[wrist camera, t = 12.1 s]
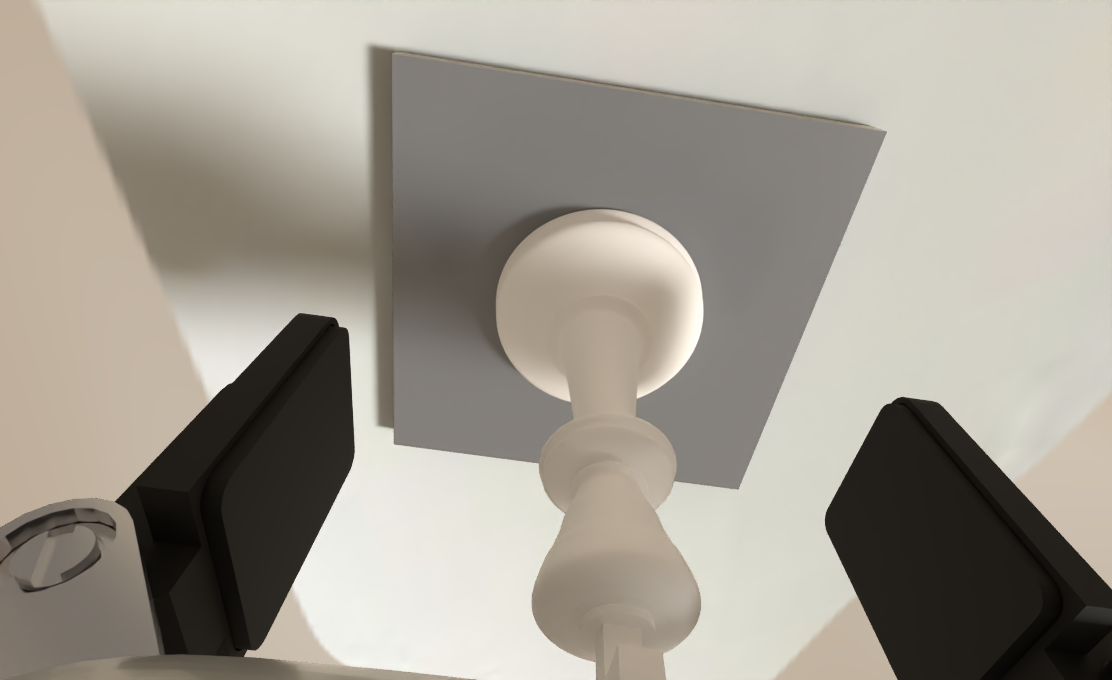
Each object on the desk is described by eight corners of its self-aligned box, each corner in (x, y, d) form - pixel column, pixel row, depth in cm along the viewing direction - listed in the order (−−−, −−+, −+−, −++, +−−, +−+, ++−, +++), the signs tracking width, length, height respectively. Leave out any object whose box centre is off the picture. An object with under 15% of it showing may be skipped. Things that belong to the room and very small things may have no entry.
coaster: (399, 51, 12) (391, 53, 11) (873, 126, 12) (886, 131, 11) (399, 430, 17) (393, 444, 16) (733, 474, 17) (738, 489, 16)
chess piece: (486, 376, 15) (352, 894, 6) (508, 191, 12) (337, 608, 4) (671, 405, 15) (797, 942, 6) (729, 228, 13) (1066, 705, 4)
